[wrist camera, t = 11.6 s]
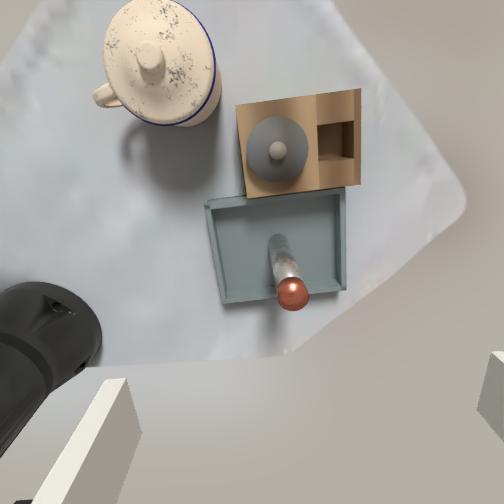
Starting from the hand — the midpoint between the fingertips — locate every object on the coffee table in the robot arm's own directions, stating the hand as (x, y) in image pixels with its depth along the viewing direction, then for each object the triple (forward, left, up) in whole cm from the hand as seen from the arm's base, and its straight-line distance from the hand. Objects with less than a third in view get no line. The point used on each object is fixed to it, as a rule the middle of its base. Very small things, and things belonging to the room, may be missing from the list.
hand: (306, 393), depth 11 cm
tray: (+1, -4, -28) cm, 28 cm away
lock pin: (+1, -4, -28) cm, 28 cm away
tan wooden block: (+4, +8, -28) cm, 30 cm away
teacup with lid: (-9, +15, -28) cm, 33 cm away
